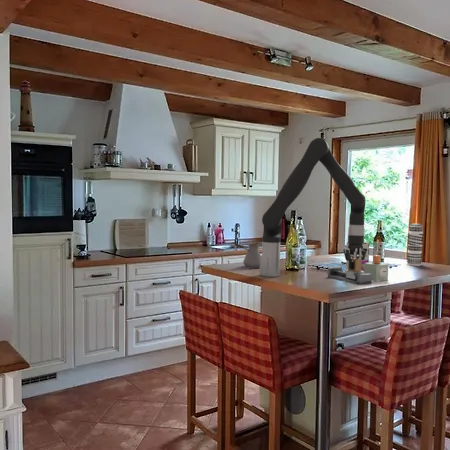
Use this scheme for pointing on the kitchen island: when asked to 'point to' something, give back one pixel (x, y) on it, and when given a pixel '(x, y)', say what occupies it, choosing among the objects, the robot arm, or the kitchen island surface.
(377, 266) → the gauge cabinet
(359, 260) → the carriage
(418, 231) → the decorative candle
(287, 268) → the kitchen island surface
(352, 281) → the rail
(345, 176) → the robot arm
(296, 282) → the kitchen island surface
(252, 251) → the coffee pot
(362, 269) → the candy bar box
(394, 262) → the kitchen island surface
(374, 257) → the button
